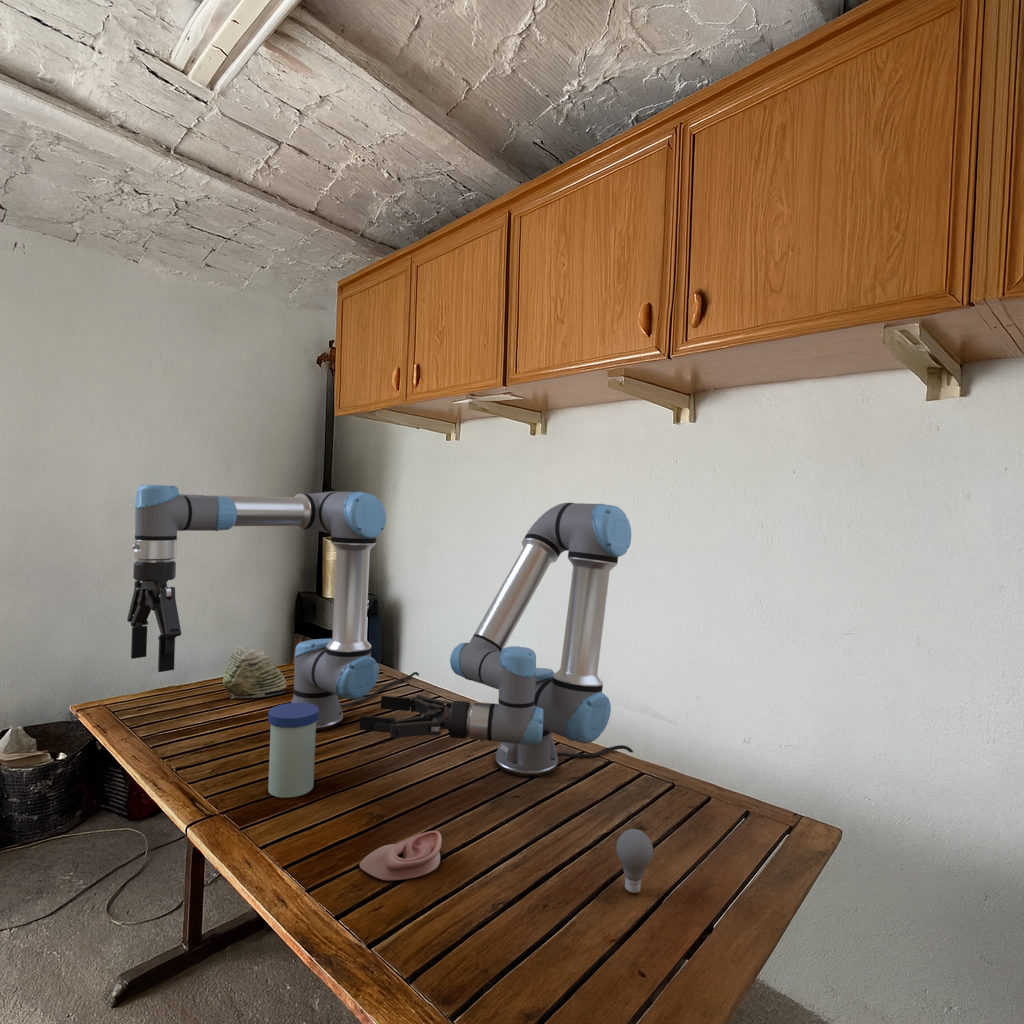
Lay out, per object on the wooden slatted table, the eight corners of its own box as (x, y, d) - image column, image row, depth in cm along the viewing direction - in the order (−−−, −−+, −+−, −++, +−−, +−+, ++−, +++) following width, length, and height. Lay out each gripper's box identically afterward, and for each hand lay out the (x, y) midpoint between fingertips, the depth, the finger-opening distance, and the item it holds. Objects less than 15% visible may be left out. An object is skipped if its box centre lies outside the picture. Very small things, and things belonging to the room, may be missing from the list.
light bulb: (610, 879, 108) (613, 822, 108) (644, 879, 109) (647, 822, 109) (619, 902, 102) (622, 840, 102) (655, 901, 103) (658, 840, 103)
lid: (275, 710, 142) (276, 702, 142) (322, 711, 143) (323, 702, 143) (262, 727, 131) (262, 718, 131) (312, 727, 132) (313, 718, 132)
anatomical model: (352, 851, 106) (379, 818, 118) (351, 875, 106) (379, 839, 118) (427, 864, 104) (448, 829, 115) (426, 888, 104) (447, 850, 115)
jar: (275, 778, 142) (277, 704, 141) (317, 778, 142) (320, 705, 142) (262, 797, 132) (265, 719, 132) (308, 797, 133) (311, 719, 133)
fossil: (218, 695, 195) (220, 647, 195) (278, 685, 208) (279, 640, 207) (228, 703, 189) (230, 653, 188) (289, 692, 201) (290, 645, 201)
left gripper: (111, 555, 134) (108, 655, 134) (161, 567, 118) (157, 680, 119) (150, 554, 140) (146, 649, 140) (202, 565, 124) (198, 673, 124)
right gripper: (457, 761, 120) (349, 751, 123) (478, 718, 145) (388, 710, 148) (459, 722, 120) (351, 713, 123) (479, 685, 145) (389, 678, 147)
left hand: (151, 664), depth 129 cm, fingers open, 13 cm apart
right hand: (371, 711), depth 135 cm, fingers open, 13 cm apart
